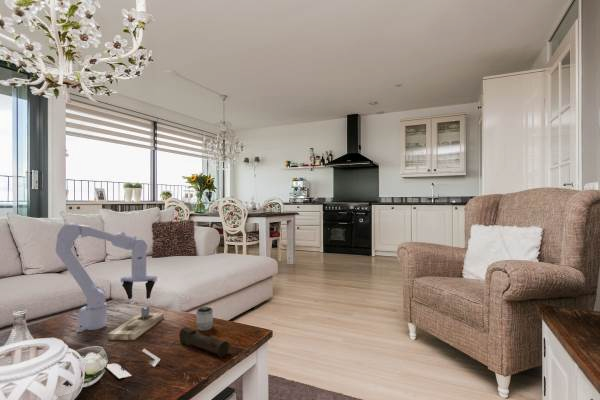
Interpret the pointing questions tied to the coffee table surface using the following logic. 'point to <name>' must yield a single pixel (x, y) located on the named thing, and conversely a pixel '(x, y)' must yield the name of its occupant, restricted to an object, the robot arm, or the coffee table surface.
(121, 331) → the tool board
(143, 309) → the grey cylinder
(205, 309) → the camera lens
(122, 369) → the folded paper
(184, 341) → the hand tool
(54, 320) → the coffee table surface
